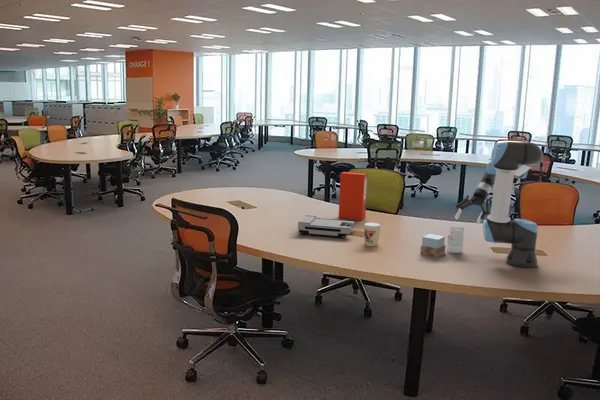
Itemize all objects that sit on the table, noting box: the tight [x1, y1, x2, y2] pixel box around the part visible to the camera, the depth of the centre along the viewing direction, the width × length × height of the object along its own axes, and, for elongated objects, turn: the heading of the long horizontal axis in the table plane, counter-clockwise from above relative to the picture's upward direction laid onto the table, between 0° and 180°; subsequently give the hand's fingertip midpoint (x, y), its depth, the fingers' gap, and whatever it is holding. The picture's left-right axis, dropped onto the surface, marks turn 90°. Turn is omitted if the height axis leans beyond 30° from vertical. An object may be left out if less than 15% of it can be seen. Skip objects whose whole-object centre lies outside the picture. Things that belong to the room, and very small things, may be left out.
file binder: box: [338, 171, 368, 221], centre depth 365 cm, size 8×17×32 cm, turn 65°
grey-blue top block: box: [421, 233, 446, 249], centre depth 286 cm, size 9×9×5 cm
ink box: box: [446, 227, 465, 254], centre depth 290 cm, size 4×8×15 cm, turn 89°
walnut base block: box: [420, 244, 447, 258], centre depth 287 cm, size 10×10×5 cm
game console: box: [297, 214, 356, 239], centre depth 325 cm, size 21×32×8 cm, turn 76°
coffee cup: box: [363, 222, 381, 247], centre depth 302 cm, size 9×9×12 cm
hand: (466, 220), depth 294 cm, fingers open, 13 cm apart
